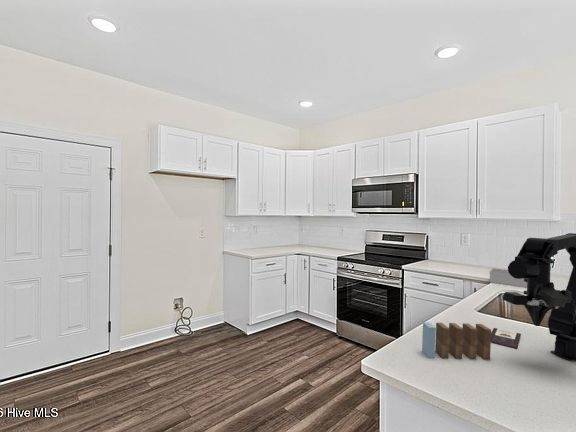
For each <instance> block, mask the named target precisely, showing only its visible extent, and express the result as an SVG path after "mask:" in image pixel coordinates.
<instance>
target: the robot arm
mask: <svg viewBox="0 0 576 432" xmlns="http://www.w3.org/2000/svg"><path fill="white" fill-rule="evenodd" d="M561 250H565V251H566V253H568V255H569V261H570V264H571V266H572V269H571V273H570V276H569V279H568V281H567V285H566V289H562V290H559V289H555V284H554V282H553V281H551V266H552V264H555V260H553V259H552V257H554V256H556V255H557V254H558V253H559V251H561ZM507 270H508V272H509V274H510V275H511V276H512V277H514V278H516V279H524V281H525V282H527V288H526V290H523V294H521V293H519V292H517V291H505V292H504V293H503V294H502V300H503V301H505V302H508V303H509V304H512V305H515V306H524V308H525V309H526V311H527V313H528V315H529V316H530V319H531V320H532V321H531V322H532V323H533V325H534V326H535V327H540V326H541V324H542V323H543V322H542V321H543V320H544V318H545V317H546V315H547V313H548V312H549V311H550V315H549V317H548V318H547V327H548V330H549V332H548V333H549V334H550V335H553V336H555V341H554V349H553V350H550V353H551V354H554V355H556V356H558V357H560V358H563V359H564V360H567V361H571V362H572V361H576V232H575V233H573V232H569V233H566V234H562V235H558V236H552V237H547V238H543V237H528V238H527V239H526V240H525V241H524V242H523V245H522V247H521V248H520V250H519V252H518V254H517V256H516V255H515V256H514V260H512V261H510V262H509V264H508V265H507Z"/></svg>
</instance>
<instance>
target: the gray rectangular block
mask: <svg viewBox="0 0 576 432" xmlns="http://www.w3.org/2000/svg"><path fill="white" fill-rule="evenodd" d="M489 283H490V284H494V285H495V284H496V285H501V284H502V286H503V285H504V286H510V287H517V288H523V289H524V288H525V289H527V282H525V281H524V279H516V278H514V277H512V276H511V275H510V274H509V272H508V269H501V268H492V269H490V270H489Z"/></svg>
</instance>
